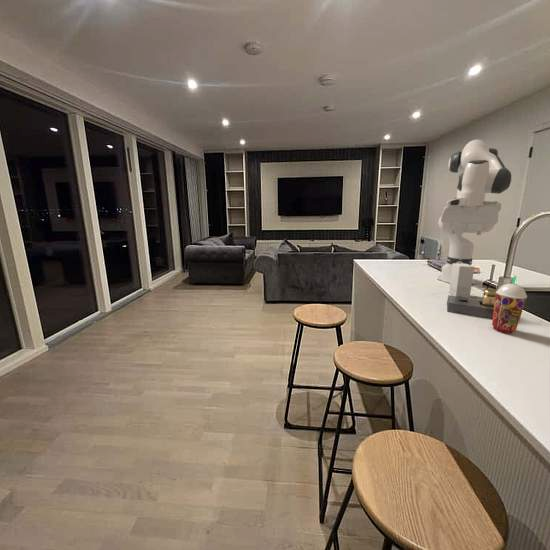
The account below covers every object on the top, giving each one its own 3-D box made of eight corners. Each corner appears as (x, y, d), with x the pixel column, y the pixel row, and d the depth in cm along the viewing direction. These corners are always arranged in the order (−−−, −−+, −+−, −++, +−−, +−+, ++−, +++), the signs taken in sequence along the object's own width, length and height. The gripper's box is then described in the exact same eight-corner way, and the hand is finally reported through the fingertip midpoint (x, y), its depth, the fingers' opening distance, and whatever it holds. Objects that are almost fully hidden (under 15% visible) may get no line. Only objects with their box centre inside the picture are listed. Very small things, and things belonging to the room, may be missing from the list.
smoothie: (510, 337, 95) (524, 280, 90) (483, 328, 102) (494, 274, 97) (523, 332, 98) (536, 277, 93) (496, 323, 106) (507, 272, 100)
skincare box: (469, 299, 132) (475, 266, 128) (454, 298, 134) (459, 266, 130) (462, 293, 140) (467, 263, 136) (447, 292, 142) (452, 262, 138)
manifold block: (446, 303, 126) (448, 295, 125) (502, 312, 117) (504, 302, 116) (447, 311, 117) (448, 302, 116) (507, 321, 107) (510, 311, 106)
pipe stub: (479, 310, 118) (483, 288, 116) (492, 312, 116) (497, 289, 113) (480, 314, 114) (484, 291, 112) (494, 316, 112) (499, 292, 109)
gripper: (500, 201, 115) (493, 234, 119) (443, 201, 125) (438, 232, 129) (503, 201, 110) (496, 236, 114) (443, 201, 120) (438, 233, 124)
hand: (465, 234), depth 121 cm, fingers open, 8 cm apart
